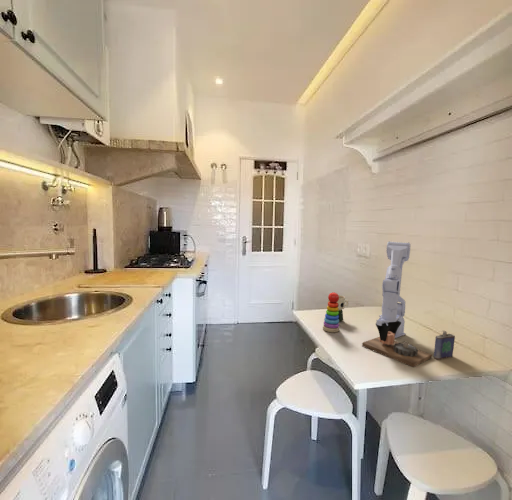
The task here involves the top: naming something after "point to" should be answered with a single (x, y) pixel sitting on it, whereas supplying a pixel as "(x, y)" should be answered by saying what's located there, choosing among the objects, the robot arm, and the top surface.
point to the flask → (444, 346)
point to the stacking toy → (332, 314)
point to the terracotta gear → (389, 338)
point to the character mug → (341, 306)
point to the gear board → (399, 351)
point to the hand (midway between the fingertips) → (387, 338)
